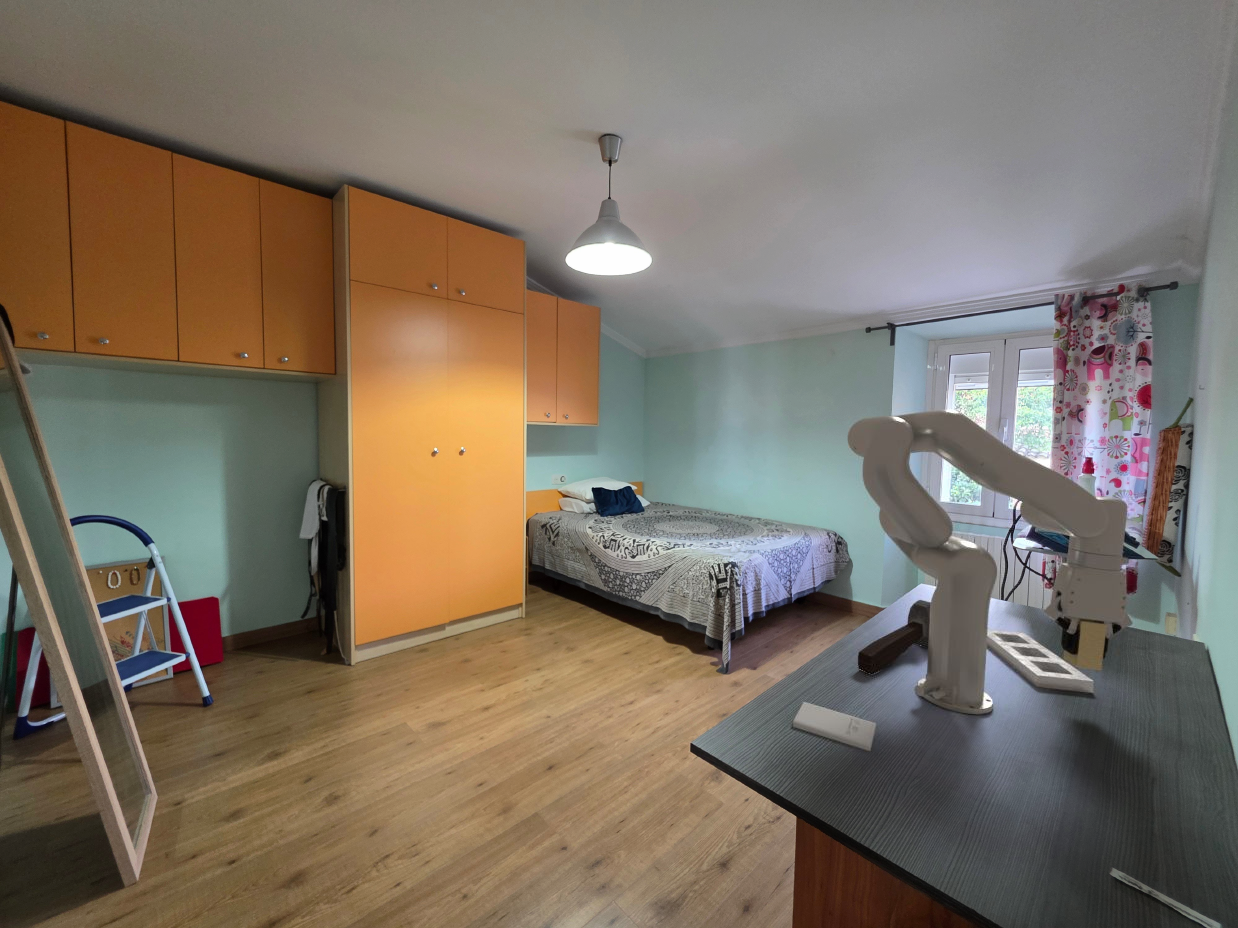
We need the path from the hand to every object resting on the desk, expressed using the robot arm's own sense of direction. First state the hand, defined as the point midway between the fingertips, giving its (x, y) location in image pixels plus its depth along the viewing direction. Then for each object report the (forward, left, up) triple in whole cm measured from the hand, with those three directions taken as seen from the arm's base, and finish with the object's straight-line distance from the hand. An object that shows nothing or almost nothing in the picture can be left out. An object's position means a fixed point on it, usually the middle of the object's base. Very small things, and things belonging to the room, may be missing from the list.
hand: (1083, 652), depth 98 cm
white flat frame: (+13, +14, -10) cm, 22 cm away
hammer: (-13, +29, -11) cm, 33 cm away
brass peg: (0, 0, -2) cm, 2 cm away
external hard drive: (-50, +15, -11) cm, 54 cm away
